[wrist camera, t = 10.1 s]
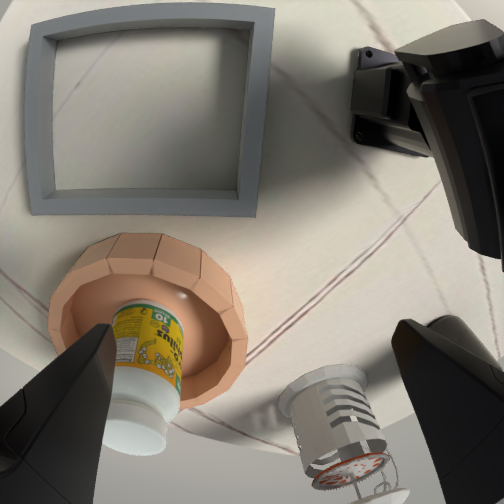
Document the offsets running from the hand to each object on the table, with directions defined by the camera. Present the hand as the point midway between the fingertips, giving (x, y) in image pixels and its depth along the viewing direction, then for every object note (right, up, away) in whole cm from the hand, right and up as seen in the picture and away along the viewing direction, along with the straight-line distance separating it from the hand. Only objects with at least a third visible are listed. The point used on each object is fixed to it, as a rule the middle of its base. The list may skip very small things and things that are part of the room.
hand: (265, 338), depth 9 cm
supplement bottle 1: (-8, -3, +13) cm, 15 cm away
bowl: (-8, -3, +14) cm, 16 cm away
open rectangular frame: (-7, +11, +7) cm, 15 cm away
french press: (+8, -13, +21) cm, 26 cm away
